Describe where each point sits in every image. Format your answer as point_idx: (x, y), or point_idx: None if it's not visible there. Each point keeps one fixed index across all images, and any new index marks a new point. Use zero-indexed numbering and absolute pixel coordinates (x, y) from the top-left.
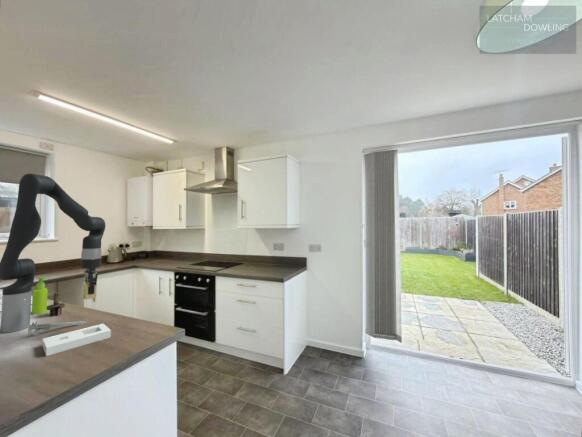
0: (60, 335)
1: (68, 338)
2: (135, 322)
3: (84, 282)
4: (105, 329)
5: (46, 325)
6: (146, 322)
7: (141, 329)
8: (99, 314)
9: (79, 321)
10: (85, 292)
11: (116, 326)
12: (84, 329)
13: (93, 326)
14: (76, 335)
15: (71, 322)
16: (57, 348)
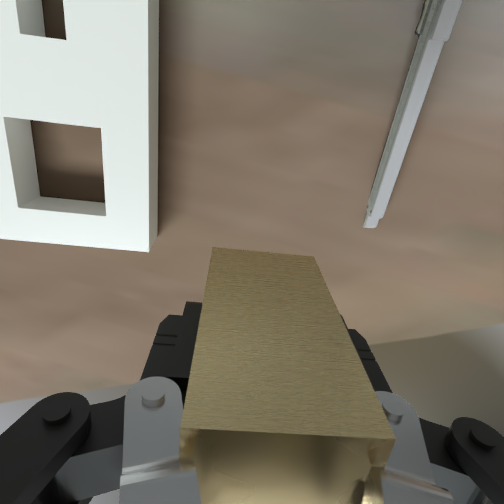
0: (117, 12)
1: (6, 29)
2: (139, 357)
3: (337, 417)
4: (19, 223)
5: (436, 7)
6: (95, 382)
7: (9, 338)
8: (446, 307)
9: (385, 198)
10: (212, 291)
11: (156, 291)
12: (121, 151)
13: (136, 201)
14: (34, 82)
15: (392, 157)
16: None
